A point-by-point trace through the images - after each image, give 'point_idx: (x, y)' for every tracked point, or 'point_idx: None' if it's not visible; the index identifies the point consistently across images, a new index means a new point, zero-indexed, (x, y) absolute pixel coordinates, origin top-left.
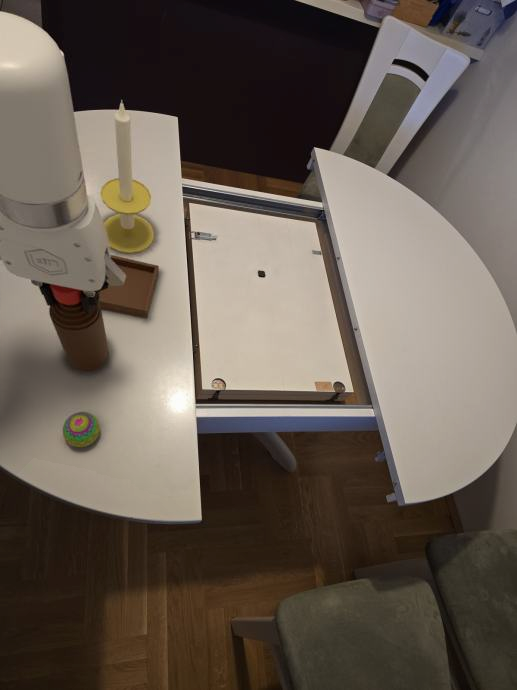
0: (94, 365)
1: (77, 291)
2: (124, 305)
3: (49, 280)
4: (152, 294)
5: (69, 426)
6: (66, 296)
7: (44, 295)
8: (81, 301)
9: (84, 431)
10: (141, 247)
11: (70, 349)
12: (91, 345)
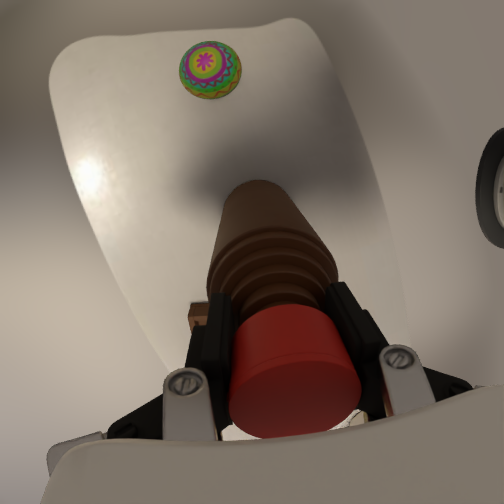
0: (234, 191)
1: (239, 378)
2: None
3: (357, 463)
4: None
5: (220, 52)
6: (278, 345)
7: (361, 314)
8: (227, 334)
9: (191, 52)
10: None
11: (272, 197)
12: (228, 216)
